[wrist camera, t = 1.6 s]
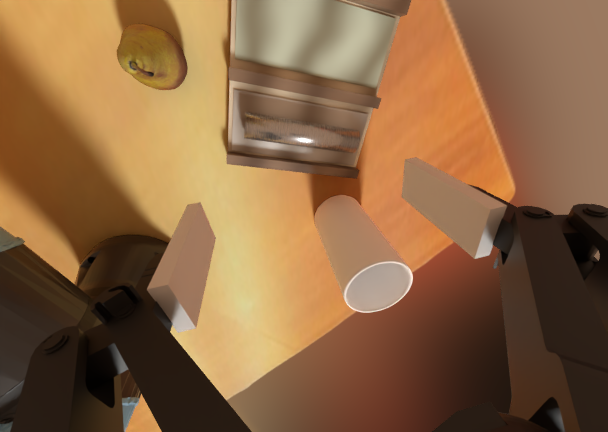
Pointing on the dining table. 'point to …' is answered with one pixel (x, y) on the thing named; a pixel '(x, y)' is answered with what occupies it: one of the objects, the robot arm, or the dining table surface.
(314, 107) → the rack
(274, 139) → the rod
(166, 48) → the fruit
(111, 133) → the dining table surface
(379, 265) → the cup
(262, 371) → the dining table surface
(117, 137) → the dining table surface
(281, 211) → the dining table surface
